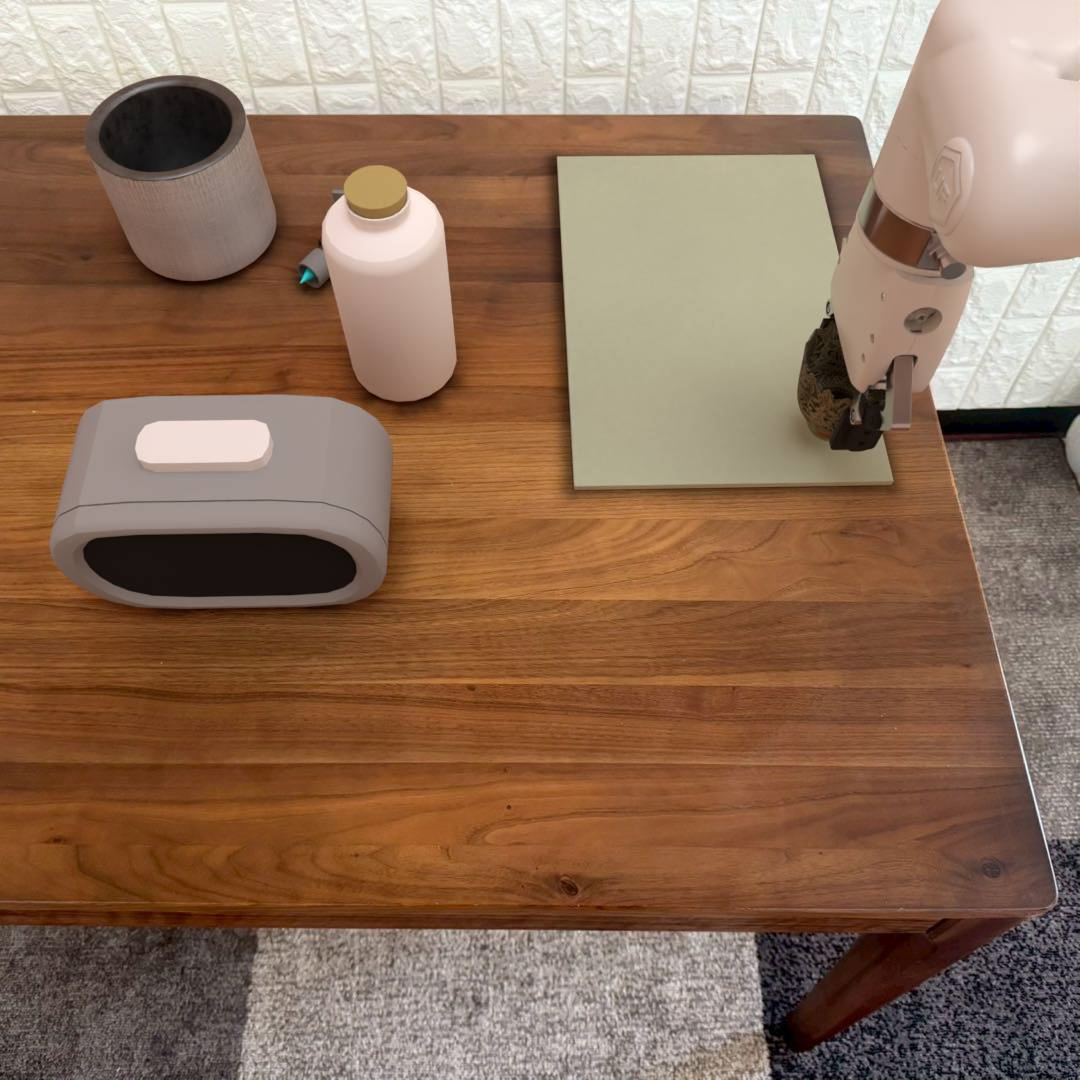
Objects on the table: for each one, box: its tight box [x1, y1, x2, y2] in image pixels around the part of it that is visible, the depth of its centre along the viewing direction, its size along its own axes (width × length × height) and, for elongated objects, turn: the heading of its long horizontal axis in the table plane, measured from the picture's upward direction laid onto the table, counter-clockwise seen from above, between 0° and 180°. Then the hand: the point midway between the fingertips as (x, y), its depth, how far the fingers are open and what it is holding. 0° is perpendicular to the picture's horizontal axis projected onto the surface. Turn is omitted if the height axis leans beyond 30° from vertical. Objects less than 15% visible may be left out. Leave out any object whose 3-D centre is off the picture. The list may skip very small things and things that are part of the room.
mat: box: [556, 154, 894, 491], centre depth 80 cm, size 36×24×1 cm, turn 2°
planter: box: [83, 74, 277, 282], centre depth 79 cm, size 13×12×11 cm
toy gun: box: [296, 188, 344, 289], centre depth 80 cm, size 10×12×5 cm
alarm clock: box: [48, 394, 394, 610], centre depth 63 cm, size 21×10×13 cm, turn 91°
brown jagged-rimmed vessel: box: [797, 321, 887, 442], centre depth 69 cm, size 8×7×8 cm
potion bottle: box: [321, 164, 457, 403], centre depth 69 cm, size 8×8×18 cm
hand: (840, 399), depth 70 cm, fingers closed on brown jagged-rimmed vessel, 7 cm apart
